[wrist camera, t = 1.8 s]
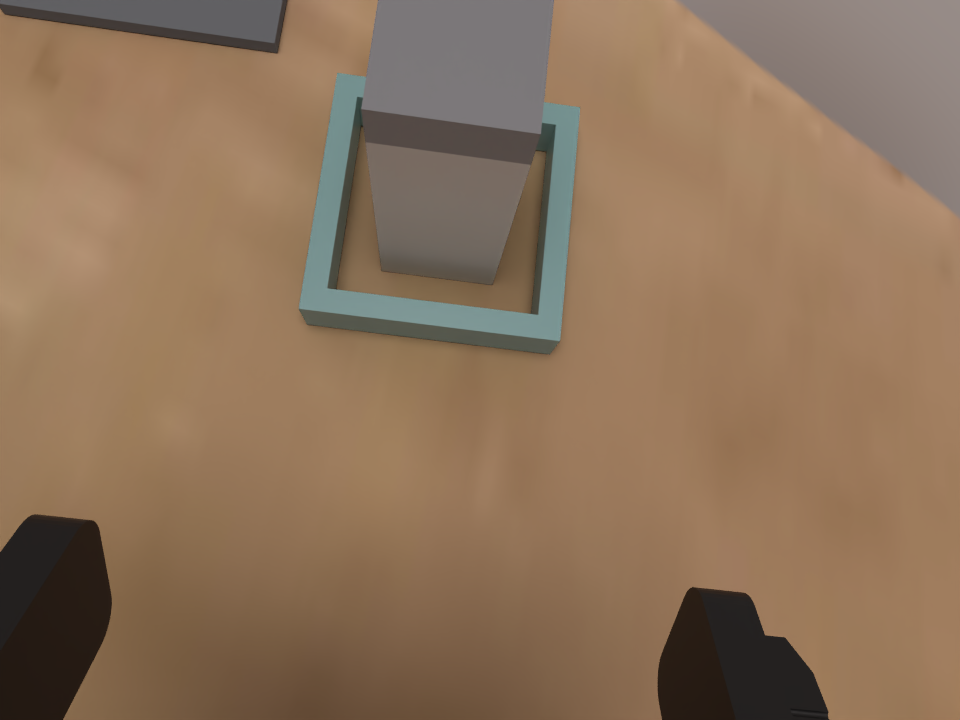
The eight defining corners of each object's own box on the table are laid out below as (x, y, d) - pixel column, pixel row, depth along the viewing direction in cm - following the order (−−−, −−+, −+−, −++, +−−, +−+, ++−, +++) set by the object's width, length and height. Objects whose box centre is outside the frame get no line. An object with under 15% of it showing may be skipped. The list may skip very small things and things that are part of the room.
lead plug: (381, 270, 28) (361, 109, 17) (395, 168, 29) (385, -47, 18) (492, 285, 28) (541, 134, 17) (503, 182, 29) (555, -21, 18)
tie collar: (307, 324, 27) (298, 308, 25) (342, 103, 29) (337, 72, 27) (549, 354, 28) (559, 341, 26) (569, 135, 29) (580, 107, 28)
